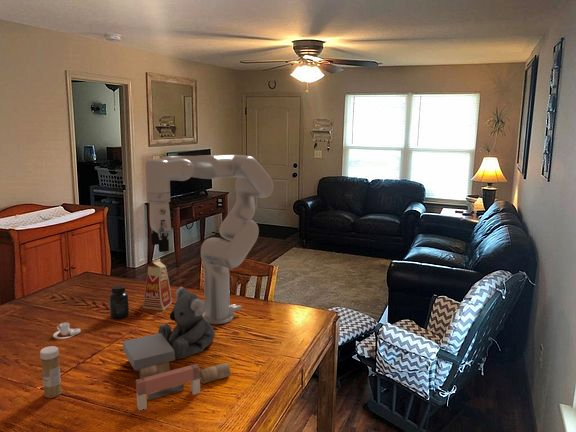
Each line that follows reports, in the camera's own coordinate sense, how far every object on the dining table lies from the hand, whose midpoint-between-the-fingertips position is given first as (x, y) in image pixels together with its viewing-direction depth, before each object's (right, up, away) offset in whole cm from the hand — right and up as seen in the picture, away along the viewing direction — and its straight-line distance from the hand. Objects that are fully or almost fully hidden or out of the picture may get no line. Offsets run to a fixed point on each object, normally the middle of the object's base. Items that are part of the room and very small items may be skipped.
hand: (160, 247), depth 161 cm
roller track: (+2, -37, -16) cm, 40 cm away
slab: (0, -32, -13) cm, 35 cm away
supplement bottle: (-22, -28, +25) cm, 44 cm away
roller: (+21, -38, -18) cm, 47 cm away
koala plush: (+9, -34, +3) cm, 35 cm away
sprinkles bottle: (-23, -39, -27) cm, 53 cm away
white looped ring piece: (-35, -32, +8) cm, 48 cm away
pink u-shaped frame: (+10, -40, -29) cm, 50 cm away
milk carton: (-11, -26, +37) cm, 46 cm away
